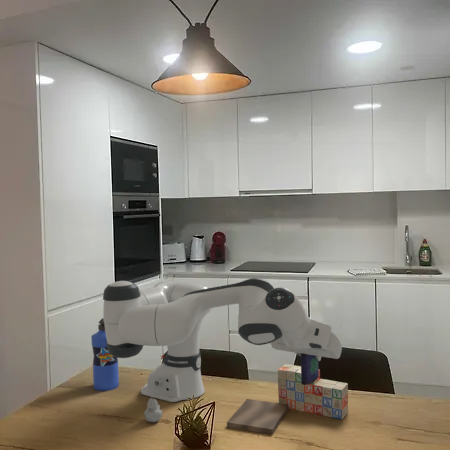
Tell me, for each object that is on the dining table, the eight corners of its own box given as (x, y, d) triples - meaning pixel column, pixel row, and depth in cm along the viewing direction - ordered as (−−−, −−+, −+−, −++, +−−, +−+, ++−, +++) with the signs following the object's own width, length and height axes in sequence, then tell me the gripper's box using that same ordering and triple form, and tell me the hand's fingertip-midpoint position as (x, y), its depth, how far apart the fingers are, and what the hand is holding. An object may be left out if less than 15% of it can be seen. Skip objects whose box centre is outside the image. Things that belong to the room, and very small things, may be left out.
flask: (312, 374, 144) (312, 338, 144) (321, 376, 142) (321, 340, 142) (299, 384, 136) (299, 346, 136) (308, 386, 135) (308, 348, 134)
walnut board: (226, 427, 144) (226, 422, 144) (247, 403, 160) (246, 398, 160) (272, 434, 138) (272, 429, 138) (288, 409, 155) (288, 404, 155)
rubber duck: (140, 424, 147) (139, 398, 147) (150, 414, 153) (149, 389, 153) (157, 426, 145) (156, 399, 145) (166, 416, 152) (165, 391, 151)
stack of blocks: (348, 412, 152) (348, 373, 151) (342, 420, 147) (341, 380, 146) (286, 399, 163) (285, 363, 163) (277, 406, 158) (277, 368, 157)
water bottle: (92, 383, 182) (90, 317, 180) (118, 380, 184) (115, 314, 183) (93, 392, 173) (91, 322, 172) (120, 389, 175) (118, 320, 174)
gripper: (259, 336, 135) (275, 361, 143) (330, 347, 124) (343, 373, 133) (266, 317, 138) (281, 342, 147) (336, 325, 128) (348, 352, 136)
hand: (311, 357), depth 140 cm, fingers closed on flask, 3 cm apart
